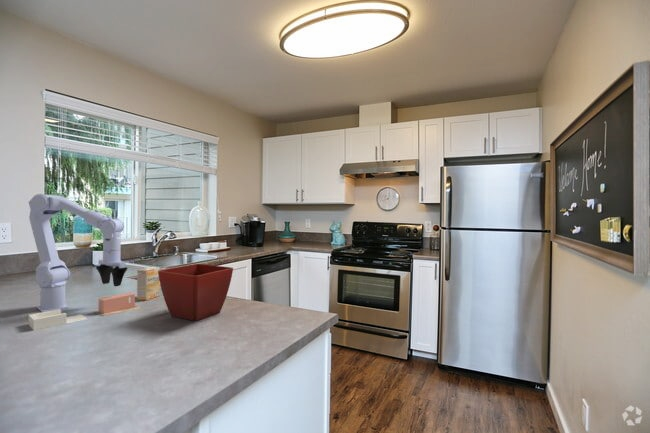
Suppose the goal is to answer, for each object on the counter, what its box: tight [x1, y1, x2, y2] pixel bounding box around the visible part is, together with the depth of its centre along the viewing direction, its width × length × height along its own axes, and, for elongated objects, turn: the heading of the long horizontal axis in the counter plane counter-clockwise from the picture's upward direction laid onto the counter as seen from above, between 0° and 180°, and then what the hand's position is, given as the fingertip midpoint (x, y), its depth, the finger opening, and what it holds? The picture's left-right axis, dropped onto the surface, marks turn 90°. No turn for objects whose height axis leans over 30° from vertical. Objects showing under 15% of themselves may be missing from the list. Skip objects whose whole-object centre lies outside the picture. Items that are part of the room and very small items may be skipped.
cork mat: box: [94, 305, 141, 317], centre depth 122 cm, size 9×13×1 cm
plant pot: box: [158, 263, 234, 322], centre depth 118 cm, size 19×19×17 cm
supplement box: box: [136, 266, 161, 302], centre depth 139 cm, size 8×5×13 cm, turn 168°
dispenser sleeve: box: [28, 309, 104, 331], centre depth 110 cm, size 8×19×4 cm, turn 142°
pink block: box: [98, 292, 136, 314], centre depth 122 cm, size 4×11×5 cm, turn 148°
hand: (111, 284), depth 124 cm, fingers open, 7 cm apart
